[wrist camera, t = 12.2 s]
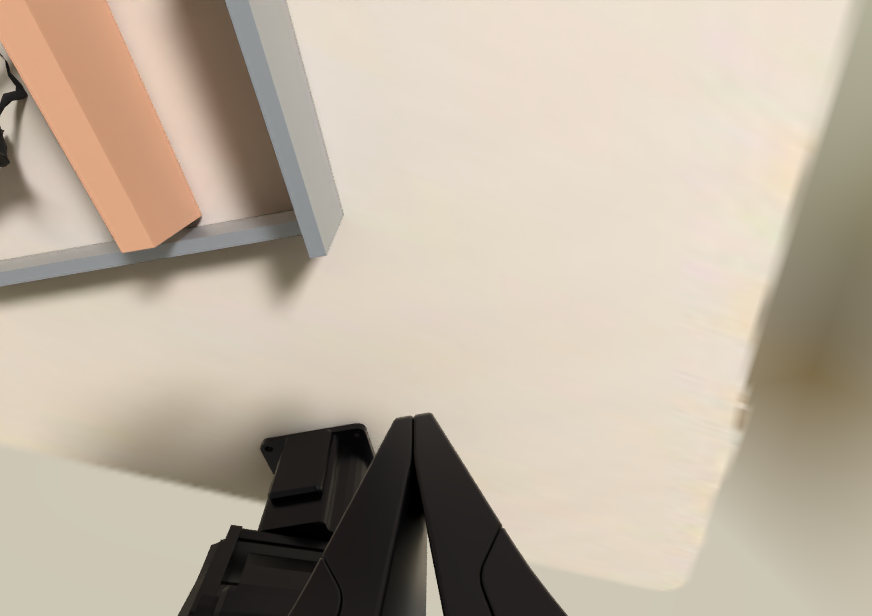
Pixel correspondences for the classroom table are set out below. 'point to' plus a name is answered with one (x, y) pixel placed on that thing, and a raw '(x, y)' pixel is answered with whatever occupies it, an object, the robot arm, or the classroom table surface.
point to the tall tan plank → (100, 115)
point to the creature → (0, 146)
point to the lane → (293, 144)
